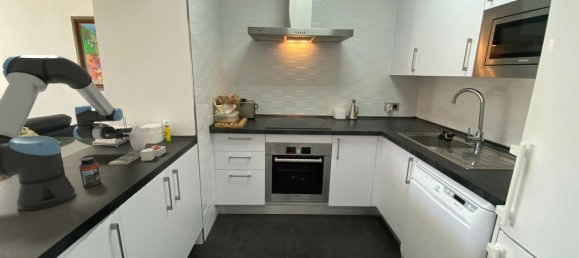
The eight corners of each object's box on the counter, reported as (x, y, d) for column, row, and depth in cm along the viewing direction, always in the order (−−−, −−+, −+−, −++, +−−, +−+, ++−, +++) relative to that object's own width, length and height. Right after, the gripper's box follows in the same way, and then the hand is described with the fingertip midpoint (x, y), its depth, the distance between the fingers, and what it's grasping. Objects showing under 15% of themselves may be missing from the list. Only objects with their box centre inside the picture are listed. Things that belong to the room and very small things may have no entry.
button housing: (159, 156, 136) (158, 150, 136) (144, 156, 136) (143, 150, 135) (165, 152, 144) (165, 146, 144) (152, 152, 144) (151, 146, 143)
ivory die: (151, 160, 131) (150, 150, 129) (141, 160, 130) (140, 151, 128) (154, 157, 135) (153, 148, 134) (144, 157, 134) (143, 148, 133)
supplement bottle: (86, 182, 104) (81, 157, 101) (103, 180, 106) (98, 155, 103) (80, 188, 98) (75, 161, 96) (98, 186, 100) (93, 159, 98)
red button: (157, 153, 138) (156, 147, 137) (148, 153, 137) (148, 148, 137) (161, 150, 142) (160, 145, 142) (153, 150, 142) (152, 145, 142)
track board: (127, 164, 124) (126, 162, 124) (108, 164, 124) (108, 162, 124) (151, 150, 148) (151, 148, 148) (136, 150, 147) (135, 148, 147)
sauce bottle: (132, 149, 145) (128, 120, 142) (147, 148, 148) (144, 119, 145) (130, 153, 138) (126, 122, 135) (146, 151, 142) (142, 121, 138)
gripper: (119, 134, 153) (154, 133, 154) (89, 145, 129) (130, 144, 130) (117, 122, 152) (152, 122, 153) (86, 131, 127) (128, 130, 128)
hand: (142, 132), depth 141 cm, fingers open, 13 cm apart
